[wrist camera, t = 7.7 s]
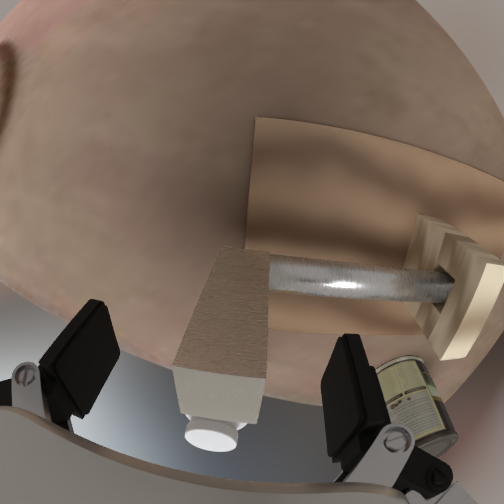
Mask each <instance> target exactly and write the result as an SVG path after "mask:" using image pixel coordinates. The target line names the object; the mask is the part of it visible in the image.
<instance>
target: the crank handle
mask: <svg viewBox="0 0 504 504" xmlns="http://www.w3.org/2000/svg"><path fill="white" fill-rule="evenodd" d="M454 282H455V279H454V278H453V277H452V276H451V275H450V274H449V273H445V272H435V271H426V270H416V269H407V268H398V267H388V266H379V265H369V264H360V263H350V262H341V261H331V260H322V259H313V258H303V257H294V256H284V255H275V254H270V251H264V250H254V249H245V248H235V247H226V246H222V247H221V249H220V251H219V254H218V256H217V258H216V260H215V263H214V265H213V267H212V270H211V272H210V274H209V277H208V279H207V281H206V284H205V286H204V288H203V291H202V293H201V295H200V298H199V300H198V303H197V305H196V307H195V310H194V312H193V315H192V317H191V319H190V322H189V324H188V327H187V329H186V332H185V334H184V337H183V339H182V342H181V344H180V347H179V349H178V352H177V354H176V357H175V359H174V362H173V364H172V369H173V375H174V380H175V386H176V391H177V396H178V401H179V407H180V411H181V413H184V414H188V415H193V416H199V417H204V418H211V419H217V420H224V421H232V422H240V423H250V424H257V420H258V415H259V410H260V406H261V401H262V396H263V392H264V387H265V382H266V368H267V341H268V309H269V292H279V293H289V294H300V295H311V296H323V297H336V298H350V299H365V300H381V301H400V302H423V303H446V301H447V299H448V296H449V294H450V292H451V289H452V287H453V284H454Z"/></svg>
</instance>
